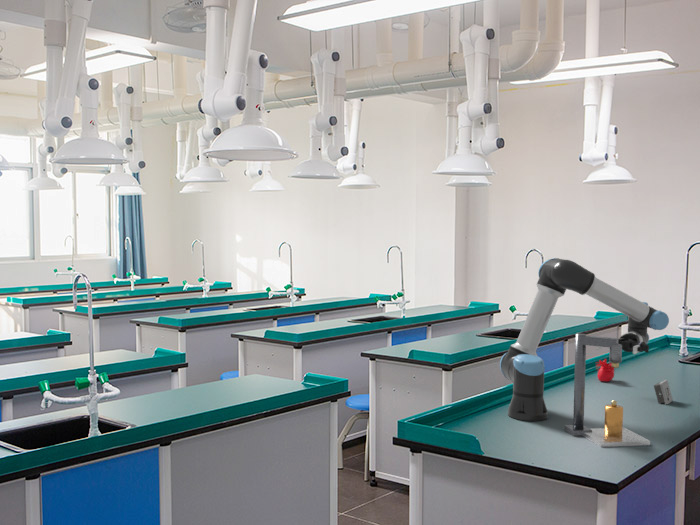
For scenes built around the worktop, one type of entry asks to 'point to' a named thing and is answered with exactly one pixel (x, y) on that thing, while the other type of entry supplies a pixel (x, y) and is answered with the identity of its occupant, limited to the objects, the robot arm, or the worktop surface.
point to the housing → (613, 420)
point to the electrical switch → (663, 392)
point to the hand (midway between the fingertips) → (615, 348)
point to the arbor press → (579, 394)
